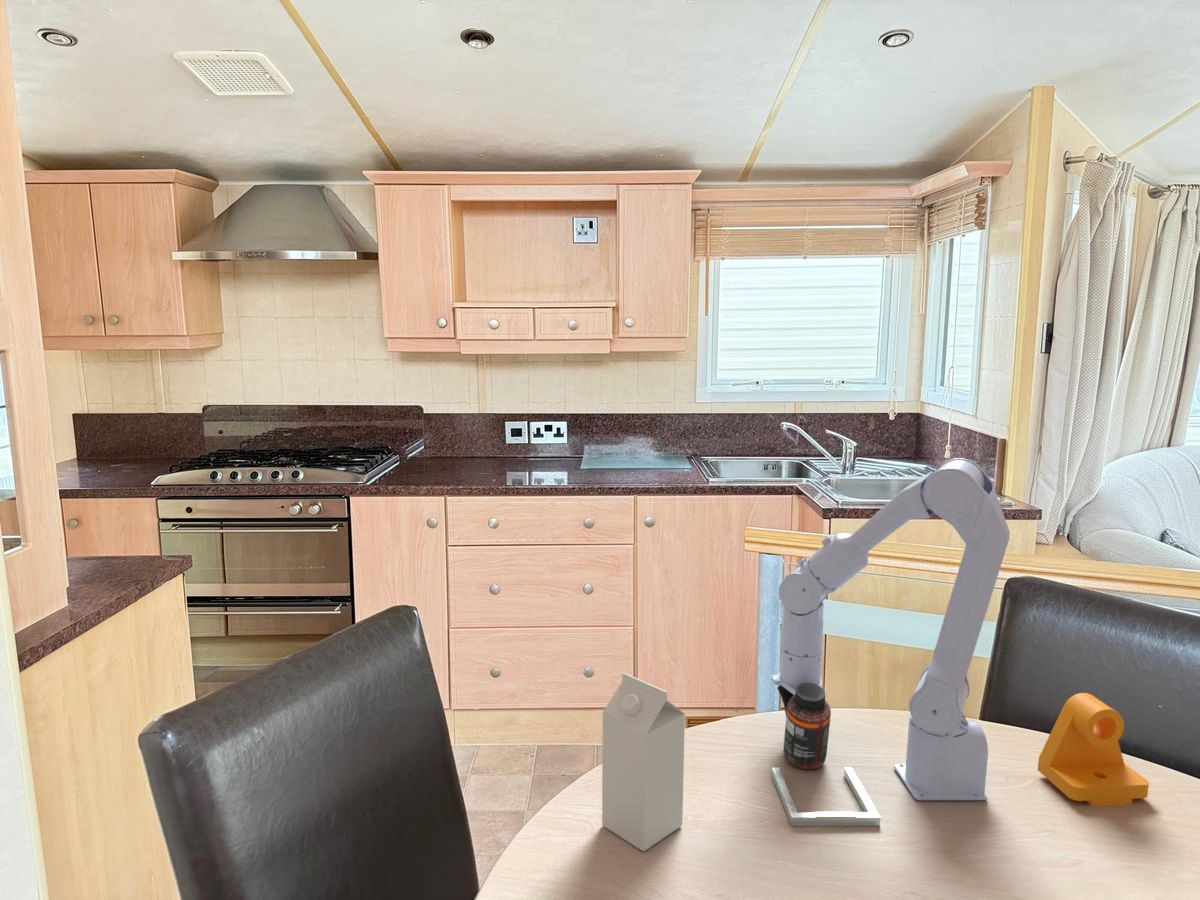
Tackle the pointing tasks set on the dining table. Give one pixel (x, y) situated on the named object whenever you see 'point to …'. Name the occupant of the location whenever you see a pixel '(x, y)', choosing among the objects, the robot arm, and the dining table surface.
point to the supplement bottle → (807, 727)
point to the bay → (829, 818)
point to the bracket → (1090, 755)
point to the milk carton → (642, 764)
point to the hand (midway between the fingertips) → (797, 736)
